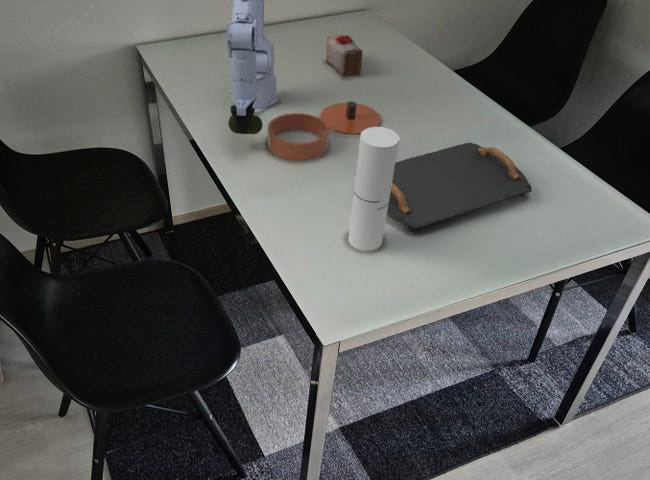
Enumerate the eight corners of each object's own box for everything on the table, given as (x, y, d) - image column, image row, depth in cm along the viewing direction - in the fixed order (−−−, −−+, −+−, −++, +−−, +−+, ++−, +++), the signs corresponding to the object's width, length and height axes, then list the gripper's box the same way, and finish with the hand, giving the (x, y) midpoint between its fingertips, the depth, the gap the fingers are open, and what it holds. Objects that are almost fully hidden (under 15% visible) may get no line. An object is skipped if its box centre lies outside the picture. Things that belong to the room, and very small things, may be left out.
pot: (292, 123, 170) (293, 107, 167) (339, 143, 163) (341, 126, 160) (255, 146, 161) (255, 129, 158) (302, 169, 154) (303, 151, 151)
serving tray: (477, 148, 163) (482, 126, 159) (541, 197, 148) (549, 174, 144) (347, 184, 150) (349, 162, 146) (403, 242, 135) (407, 219, 131)
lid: (342, 100, 180) (344, 83, 177) (391, 119, 173) (394, 102, 170) (307, 122, 171) (308, 104, 167) (357, 143, 164) (360, 125, 160)
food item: (321, 60, 199) (323, 29, 192) (344, 56, 201) (347, 25, 194) (341, 79, 190) (344, 47, 183) (364, 75, 192) (368, 43, 185)
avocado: (227, 137, 155) (227, 118, 152) (229, 126, 159) (229, 108, 156) (261, 138, 155) (261, 119, 152) (263, 128, 159) (263, 110, 156)
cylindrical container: (346, 229, 138) (357, 127, 121) (378, 228, 138) (394, 126, 121) (351, 251, 132) (364, 147, 115) (385, 250, 133) (402, 146, 116)
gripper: (258, 90, 142) (258, 143, 151) (262, 62, 152) (262, 113, 162) (226, 89, 142) (229, 142, 151) (233, 60, 152) (234, 112, 162)
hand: (244, 127), depth 156 cm, fingers closed on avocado, 5 cm apart
